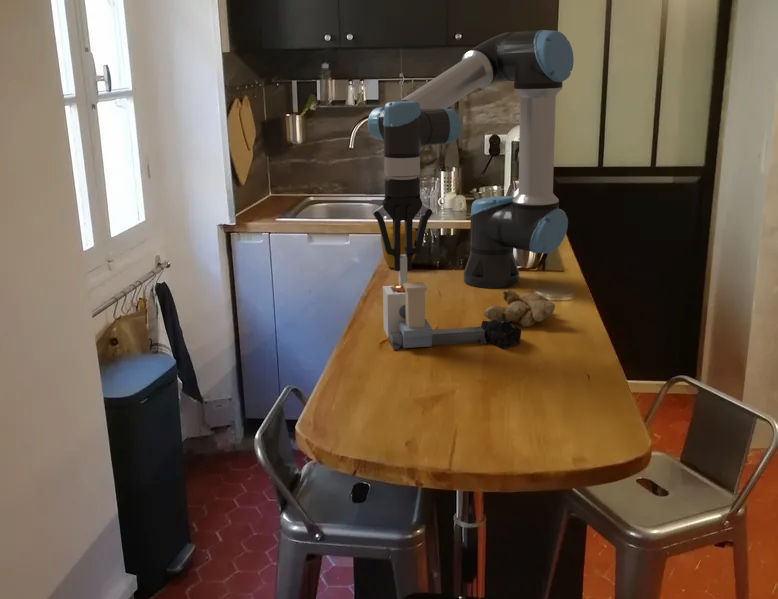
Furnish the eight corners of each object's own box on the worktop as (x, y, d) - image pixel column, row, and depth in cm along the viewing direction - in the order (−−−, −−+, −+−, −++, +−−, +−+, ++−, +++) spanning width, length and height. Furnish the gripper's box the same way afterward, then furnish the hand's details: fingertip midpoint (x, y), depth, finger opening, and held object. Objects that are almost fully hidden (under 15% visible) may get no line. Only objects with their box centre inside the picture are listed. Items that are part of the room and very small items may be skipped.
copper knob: (410, 308, 176) (410, 282, 175) (413, 314, 173) (413, 287, 171) (393, 309, 176) (392, 283, 174) (395, 315, 172) (395, 288, 170)
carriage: (425, 336, 172) (425, 279, 168) (432, 347, 165) (432, 288, 162) (398, 338, 171) (398, 281, 167) (404, 349, 164) (403, 290, 161)
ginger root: (566, 308, 187) (564, 278, 183) (549, 344, 174) (547, 313, 171) (502, 303, 193) (499, 274, 190) (482, 337, 181) (479, 307, 177)
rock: (500, 331, 176) (501, 306, 174) (528, 345, 167) (529, 318, 166) (474, 337, 173) (474, 311, 171) (501, 350, 164) (502, 324, 163)
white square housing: (418, 326, 180) (418, 284, 177) (424, 337, 173) (424, 293, 170) (383, 328, 178) (382, 286, 176) (388, 339, 171) (387, 295, 169)
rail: (479, 335, 173) (479, 324, 172) (486, 344, 167) (486, 333, 167) (389, 340, 170) (389, 330, 170) (393, 350, 165) (393, 339, 164)
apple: (425, 265, 235) (425, 222, 231) (406, 273, 226) (405, 229, 223) (393, 261, 241) (393, 219, 237) (374, 268, 232) (373, 225, 228)
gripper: (429, 173, 170) (428, 279, 177) (369, 175, 168) (371, 281, 175) (436, 178, 163) (435, 287, 170) (373, 180, 161) (375, 290, 168)
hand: (402, 284), depth 172 cm, fingers closed
